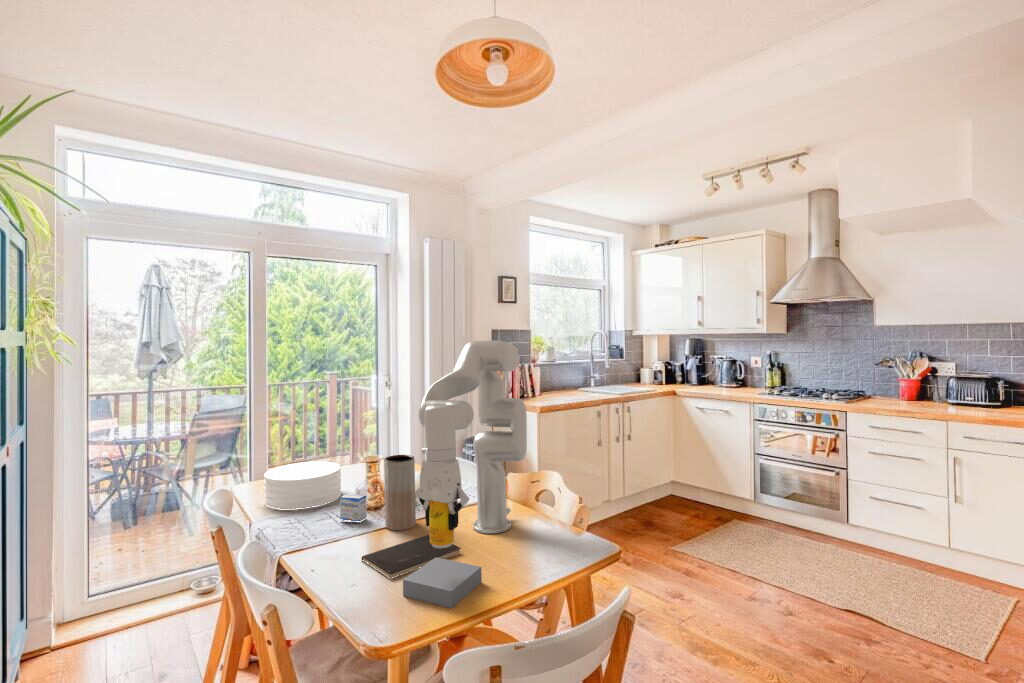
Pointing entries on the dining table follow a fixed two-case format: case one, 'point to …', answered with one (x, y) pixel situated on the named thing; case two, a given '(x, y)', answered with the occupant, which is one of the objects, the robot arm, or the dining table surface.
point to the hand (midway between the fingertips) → (441, 525)
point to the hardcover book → (408, 556)
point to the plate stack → (302, 485)
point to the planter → (399, 492)
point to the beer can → (439, 522)
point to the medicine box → (353, 507)
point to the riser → (442, 582)
